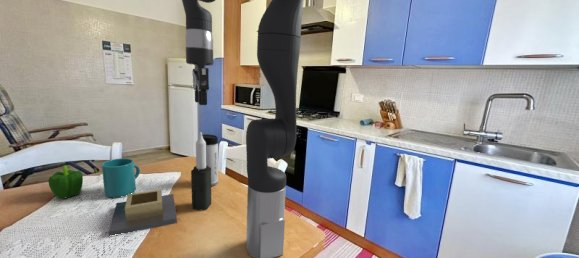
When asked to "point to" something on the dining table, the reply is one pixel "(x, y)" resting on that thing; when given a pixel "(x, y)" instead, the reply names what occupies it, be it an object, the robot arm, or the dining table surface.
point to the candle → (201, 178)
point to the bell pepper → (66, 183)
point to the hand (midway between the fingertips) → (200, 103)
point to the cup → (119, 177)
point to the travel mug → (212, 156)
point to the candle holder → (143, 212)
